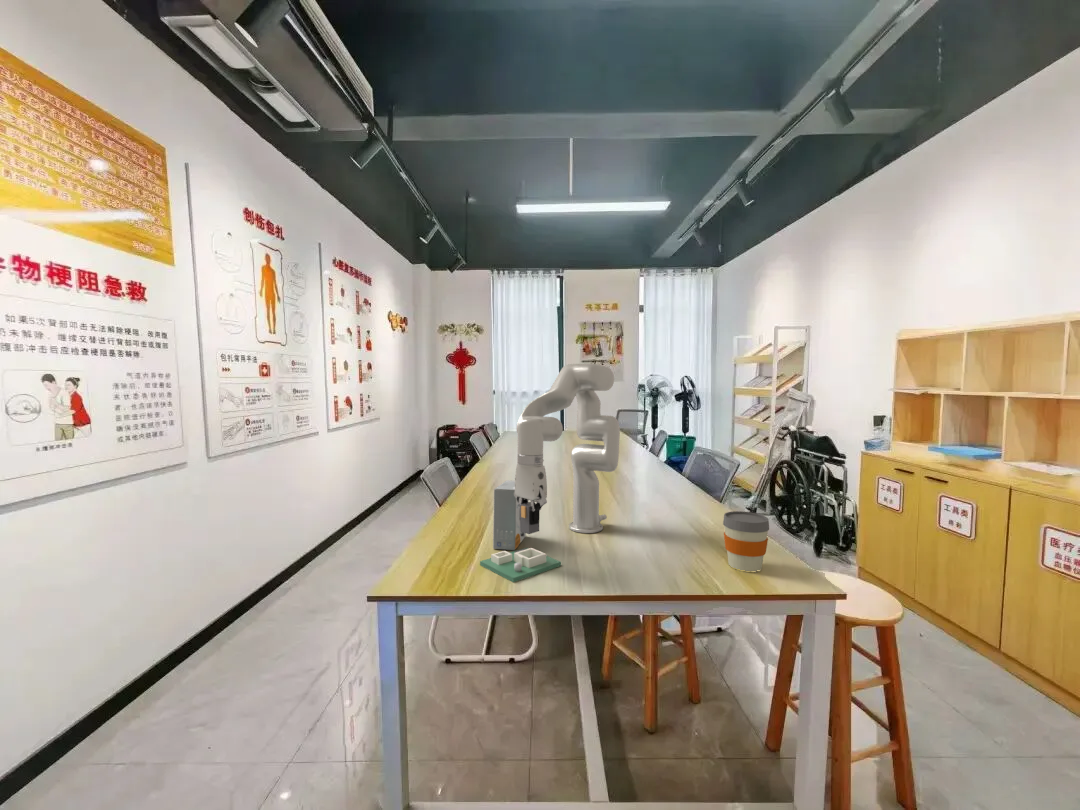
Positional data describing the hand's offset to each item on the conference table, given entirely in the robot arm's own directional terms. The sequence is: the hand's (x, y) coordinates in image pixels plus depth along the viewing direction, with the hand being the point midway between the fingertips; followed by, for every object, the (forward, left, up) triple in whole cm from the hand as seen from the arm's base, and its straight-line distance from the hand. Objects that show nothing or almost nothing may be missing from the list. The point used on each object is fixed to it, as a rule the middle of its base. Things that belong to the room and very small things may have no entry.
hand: (529, 521), depth 139 cm
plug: (0, 0, -3) cm, 3 cm away
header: (0, 0, -12) cm, 12 cm away
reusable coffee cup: (-48, +42, -14) cm, 65 cm away
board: (+2, -2, -13) cm, 14 cm away
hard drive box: (-8, -20, -14) cm, 26 cm away
